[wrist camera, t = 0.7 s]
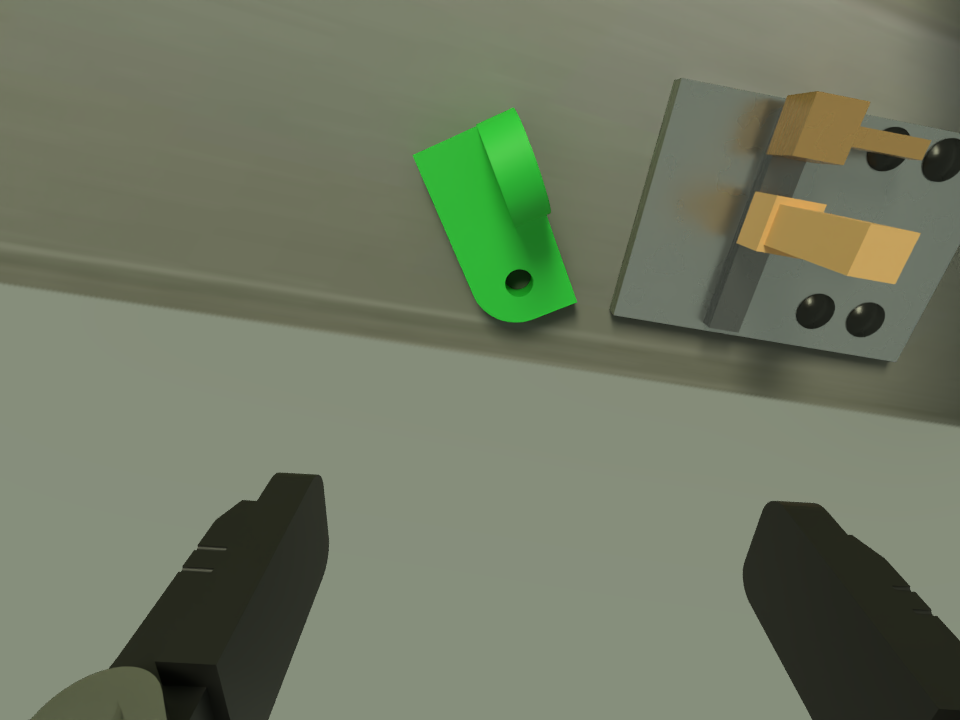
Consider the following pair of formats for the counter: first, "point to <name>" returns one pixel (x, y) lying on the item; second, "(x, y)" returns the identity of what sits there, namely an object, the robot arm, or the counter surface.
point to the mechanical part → (498, 217)
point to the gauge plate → (795, 174)
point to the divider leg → (826, 238)
